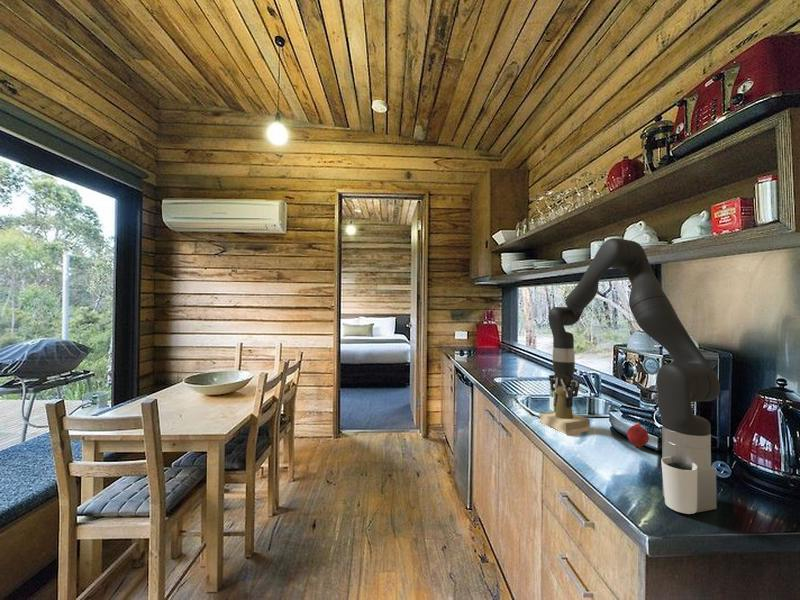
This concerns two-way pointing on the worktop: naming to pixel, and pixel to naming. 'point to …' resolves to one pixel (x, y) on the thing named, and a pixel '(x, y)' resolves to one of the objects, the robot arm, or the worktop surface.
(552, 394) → the syrup box
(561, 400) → the cork
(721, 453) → the worktop surface
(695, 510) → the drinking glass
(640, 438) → the onion
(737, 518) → the worktop surface
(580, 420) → the birch block
